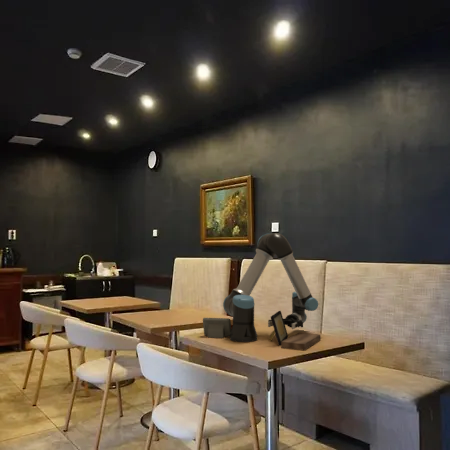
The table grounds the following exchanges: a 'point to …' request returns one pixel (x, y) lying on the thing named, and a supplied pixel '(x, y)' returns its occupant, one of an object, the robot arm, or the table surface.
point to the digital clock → (217, 327)
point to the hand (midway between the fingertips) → (280, 325)
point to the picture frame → (278, 328)
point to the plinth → (300, 341)
